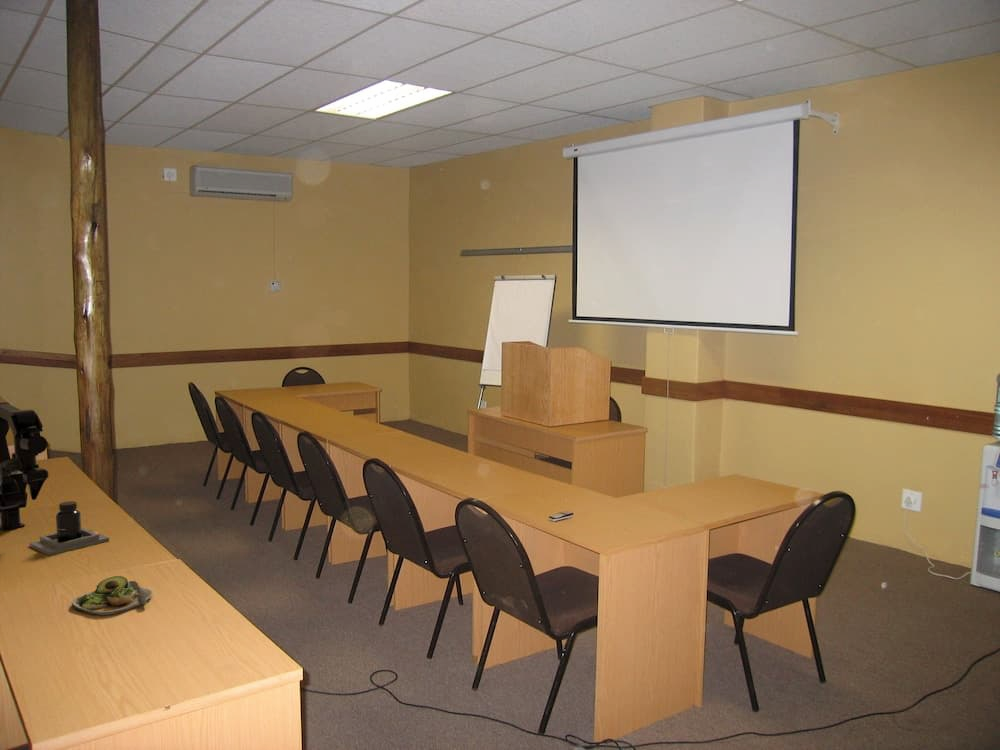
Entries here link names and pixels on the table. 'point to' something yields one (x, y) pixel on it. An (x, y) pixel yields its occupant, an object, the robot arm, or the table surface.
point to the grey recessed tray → (67, 542)
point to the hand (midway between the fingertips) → (27, 497)
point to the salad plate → (113, 596)
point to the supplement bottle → (68, 522)
